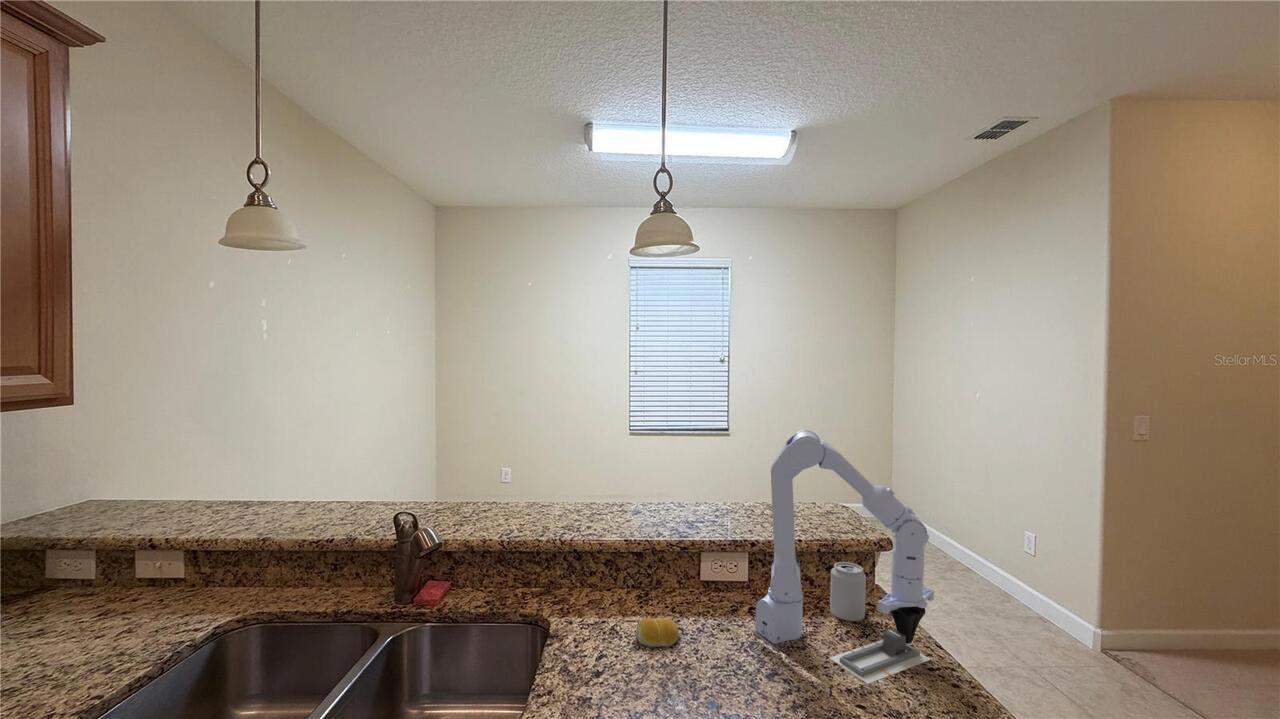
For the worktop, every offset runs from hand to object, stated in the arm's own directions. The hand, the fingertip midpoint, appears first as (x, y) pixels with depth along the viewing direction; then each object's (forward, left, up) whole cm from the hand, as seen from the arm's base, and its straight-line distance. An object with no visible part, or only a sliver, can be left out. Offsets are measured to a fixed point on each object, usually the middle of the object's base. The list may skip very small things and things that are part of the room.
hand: (905, 640), depth 108 cm
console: (-7, 0, -3) cm, 8 cm away
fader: (-3, 0, -2) cm, 4 cm away
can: (+2, +16, -3) cm, 16 cm away
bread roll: (-42, +27, -3) cm, 50 cm away
